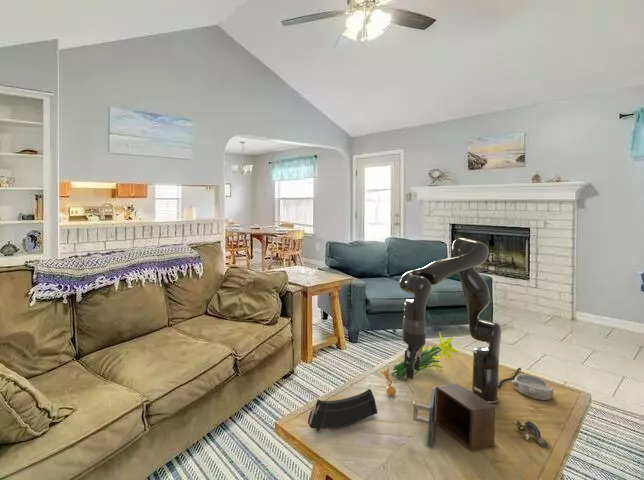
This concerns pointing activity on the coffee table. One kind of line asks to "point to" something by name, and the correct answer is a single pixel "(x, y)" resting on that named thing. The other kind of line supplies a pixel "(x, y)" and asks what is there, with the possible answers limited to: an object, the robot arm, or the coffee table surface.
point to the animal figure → (531, 431)
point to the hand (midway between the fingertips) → (413, 373)
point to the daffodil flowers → (428, 357)
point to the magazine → (342, 411)
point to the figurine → (389, 389)
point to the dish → (532, 387)
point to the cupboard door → (431, 415)
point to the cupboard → (465, 416)
